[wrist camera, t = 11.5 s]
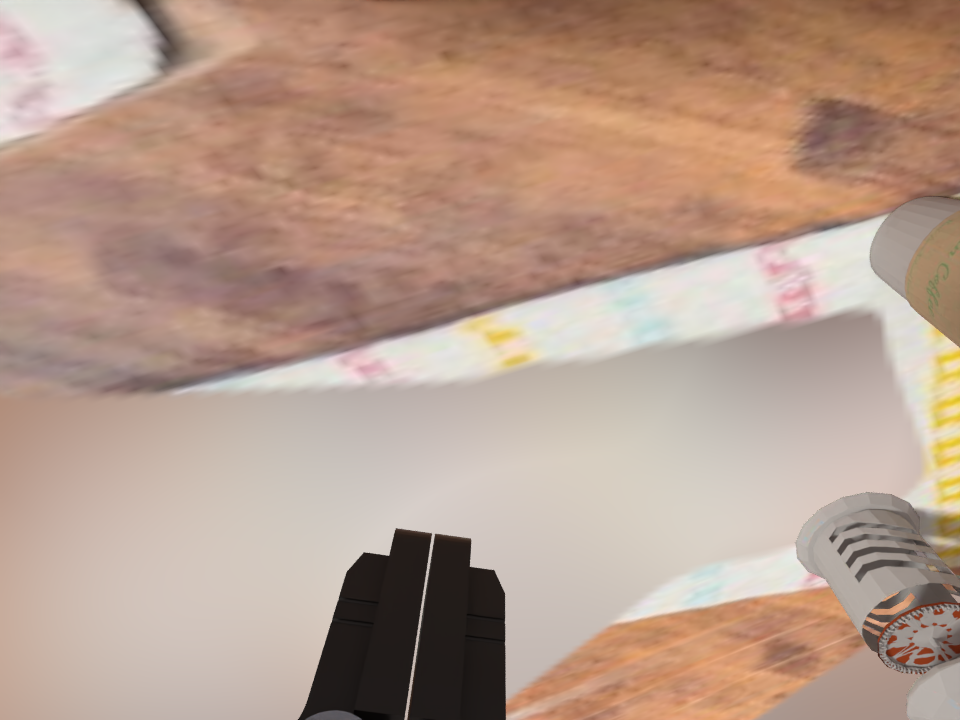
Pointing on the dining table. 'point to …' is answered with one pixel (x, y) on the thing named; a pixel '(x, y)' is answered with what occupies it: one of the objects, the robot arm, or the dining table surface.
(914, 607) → the french press
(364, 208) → the dining table surface
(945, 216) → the coffee cup
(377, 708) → the robot arm
